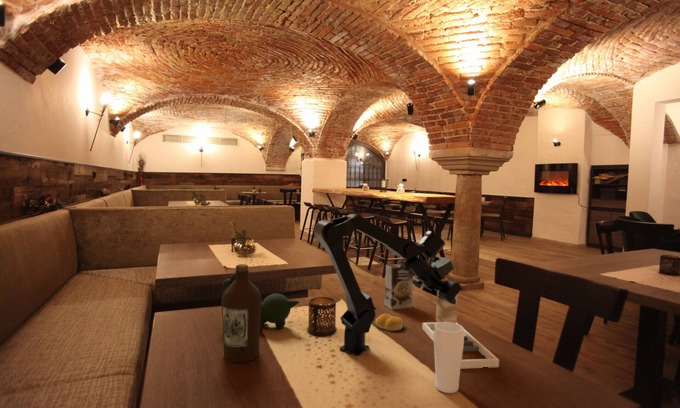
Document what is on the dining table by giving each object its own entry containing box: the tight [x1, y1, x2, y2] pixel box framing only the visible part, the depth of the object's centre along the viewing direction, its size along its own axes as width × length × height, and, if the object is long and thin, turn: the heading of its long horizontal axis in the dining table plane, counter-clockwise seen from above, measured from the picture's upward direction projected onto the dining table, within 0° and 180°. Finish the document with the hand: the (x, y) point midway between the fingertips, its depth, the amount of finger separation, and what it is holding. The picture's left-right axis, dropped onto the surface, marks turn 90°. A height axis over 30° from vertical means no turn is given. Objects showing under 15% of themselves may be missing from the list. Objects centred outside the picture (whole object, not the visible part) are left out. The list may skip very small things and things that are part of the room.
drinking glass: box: [433, 322, 465, 394], centre depth 94 cm, size 7×7×15 cm
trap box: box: [422, 321, 500, 370], centre depth 118 cm, size 28×12×2 cm, turn 7°
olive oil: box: [221, 263, 263, 363], centre depth 108 cm, size 11×11×25 cm
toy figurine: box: [220, 272, 300, 330], centre depth 130 cm, size 9×19×25 cm
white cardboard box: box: [383, 263, 414, 310], centre depth 153 cm, size 9×6×16 cm
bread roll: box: [375, 313, 404, 332], centre depth 133 cm, size 8×9×4 cm
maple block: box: [435, 291, 459, 323], centre depth 126 cm, size 4×4×12 cm
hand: (450, 301), depth 126 cm, fingers closed on maple block, 4 cm apart
